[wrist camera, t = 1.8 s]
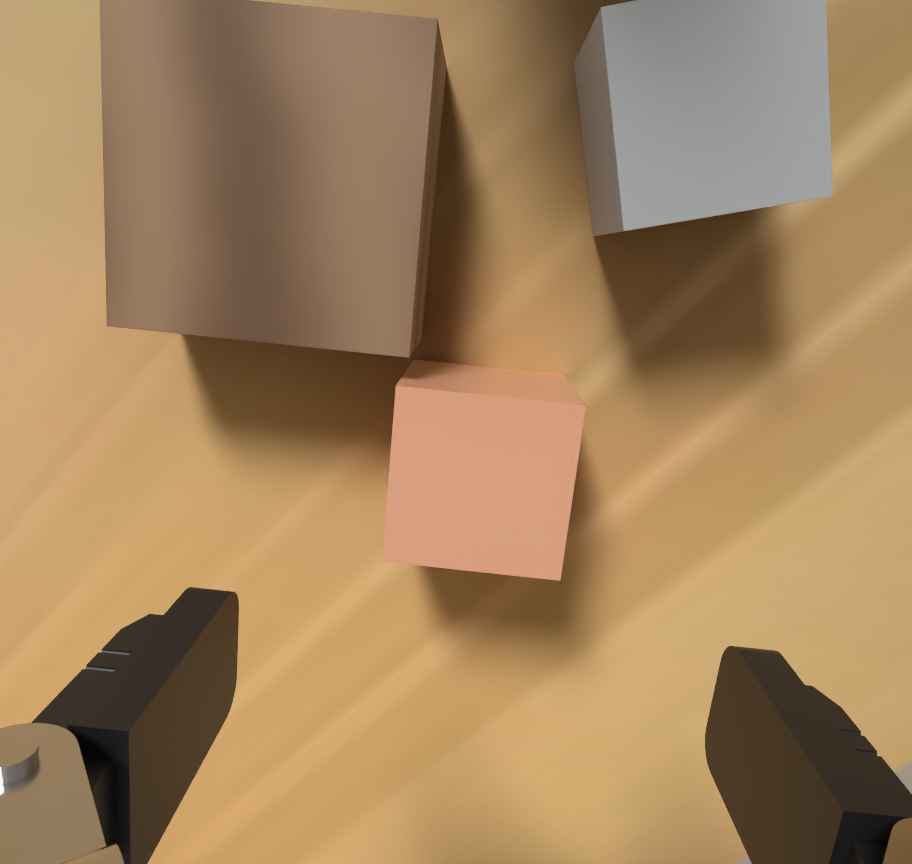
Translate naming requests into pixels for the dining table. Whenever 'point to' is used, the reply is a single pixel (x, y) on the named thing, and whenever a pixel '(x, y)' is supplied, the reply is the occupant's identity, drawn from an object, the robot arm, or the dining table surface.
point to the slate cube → (703, 109)
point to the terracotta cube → (482, 469)
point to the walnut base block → (270, 171)
